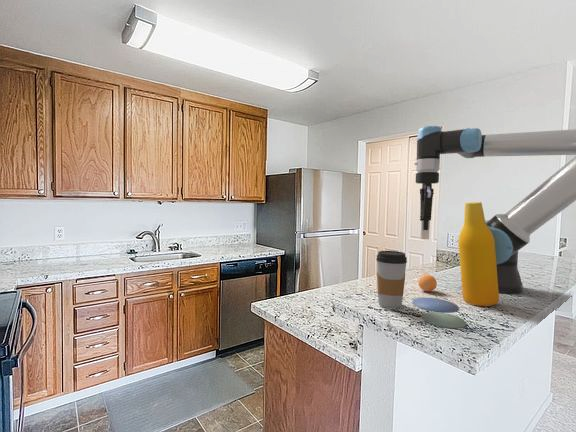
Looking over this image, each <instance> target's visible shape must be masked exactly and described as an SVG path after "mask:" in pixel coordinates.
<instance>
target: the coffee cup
mask: <svg viewBox="0 0 576 432" xmlns="http://www.w3.org/2000/svg"><path fill="white" fill-rule="evenodd" d="M377 252H378V253H377V255H376V260H375V261H376V285H377V288H376V289H377V301H378V305H379V306H381V307H382V308H384V309H390V308H392V309H393V308H394V309H396V308H397V309H400V308H401V306H402V305H403V297H404V289H405V281H406V267H407V263H408V260H407V259H408V258H407V257H408V256H406V253H405V252H402V251H397V250H379V251H377ZM392 309H391V310H392ZM394 309H393V310H394Z"/></svg>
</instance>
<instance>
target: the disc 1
mask: <svg viewBox="0 0 576 432" xmlns="http://www.w3.org/2000/svg"><path fill="white" fill-rule="evenodd" d="M412 304H413V305H414V306H415V307H417V308H420V309H422V310H426V311H430V312H439V313H453V312H457V311H458V310H459V306H458V305H457V304H456V303H454V302H451V301H449V300H445V299H441V298H436V297H417V298H414V299H413V300H412Z"/></svg>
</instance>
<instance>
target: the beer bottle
mask: <svg viewBox="0 0 576 432" xmlns="http://www.w3.org/2000/svg"><path fill="white" fill-rule="evenodd" d="M463 217H464V219H463V226H462V228H461V231H460V232H459V236H458V252H459V263H460V266H459V268H460V277H461V292H462V293H461V294H462V299H463V300H464V302H465V303H466V304H469V305H472V306H481V307H490V306H495V305H497V304H498V303H499V302H500V292H499V291H498V279H497V266H496V252H495V240H494V237H493V234H492V232H491V231H490V229H489V228H488V226H487V224H486V221H485V220H486V218H485V212H484V209H483V204H482V202H481V201H475V202H465V203H464V216H463Z"/></svg>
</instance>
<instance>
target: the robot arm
mask: <svg viewBox="0 0 576 432" xmlns="http://www.w3.org/2000/svg"><path fill="white" fill-rule="evenodd" d="M448 154H457V155H460V156H461V157H463V158H465V159H474V158H481V157H482V158H483V157H485V158H486V157H524V156H525V157H526V156H528V157H529V156H530V157H533V156H536V157H537V156H574V157H573V158H572V159H571V160H569V161H568V162H567V163H566V164H564V165H563V166H561V168H559V169H558V170H557V171H556V172H555V173H554V174H552V175H551V176H550V177H548V179H546V180H545V181H544V182H542V183H541V184H540V185H538V186H537V187H536V188H535V189H534V190H533V191H531V192H530V193H529V194H528V195H526V196H525V197H524V198H523V199H521V201H519V202H518V203H517V204H516V205H514V206H513V207H512V208H510V210H508V211H507V212H506V213H497V214H495V215H494V216H492V217H491V218H490V219H487V220H486V219H485V221H486V224H487V226H488V228H489V229H490V231H491V232H492V234H493V237H494V240H495V252H496V266H497V279H498V291H499V293H502V294H504V293H505V294H518V293H522V292H523V287H524V285H523V282H522V279H521V278H522V277H521V275H520V271H519V269H518V264H519V263H518V261H519V260H518V259H519V251H520V250H521V249H522V248H524V247H525V246H527V245H528V244H529V243H530V241H531V239H530V236H531V235H532V234H533V233H534V232H536V231H538V229H540V228H541V227H543V226H544V225H545V224H546V223H548V222H549V221H550V220H551V219H553V218H555V216H556V215H558V214H560V213H561V212H562V211H563V210H566V208H568V207H569V206H571V204H573V203H575V201H576V128H575V129H560V130H546V131H545V130H544V131H527V132H510V133H507V132H506V133H491V134H483V133H482V129H480V128H478V127H477V128H476V127H474V128H470V127H467V128H463V129H456V130H455V129H454V130H448V131H447V130H446V131H442V128H441V127H440V126H439V125H426V126H422V127H420V128H419V129H418V130H417V139H416V162H414V166H416V167H415V168H416V169H415V170H416V173H415V183H416V184H419V185H420V184H421V188H420V189H419V195H420V203H419V205H420V215H419V221H420V233H419V234H420V235H419V236H420V237H419V238H420V240H430V227H431V225H430V223H431V221H432V211H433V209H432V208H433V199H434V194H435V192H434V188H433V185H432V184H438V183H439V182H440V172H439V171H440V169H441V168H440V166H441V165H440V164H441V155H448Z"/></svg>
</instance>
